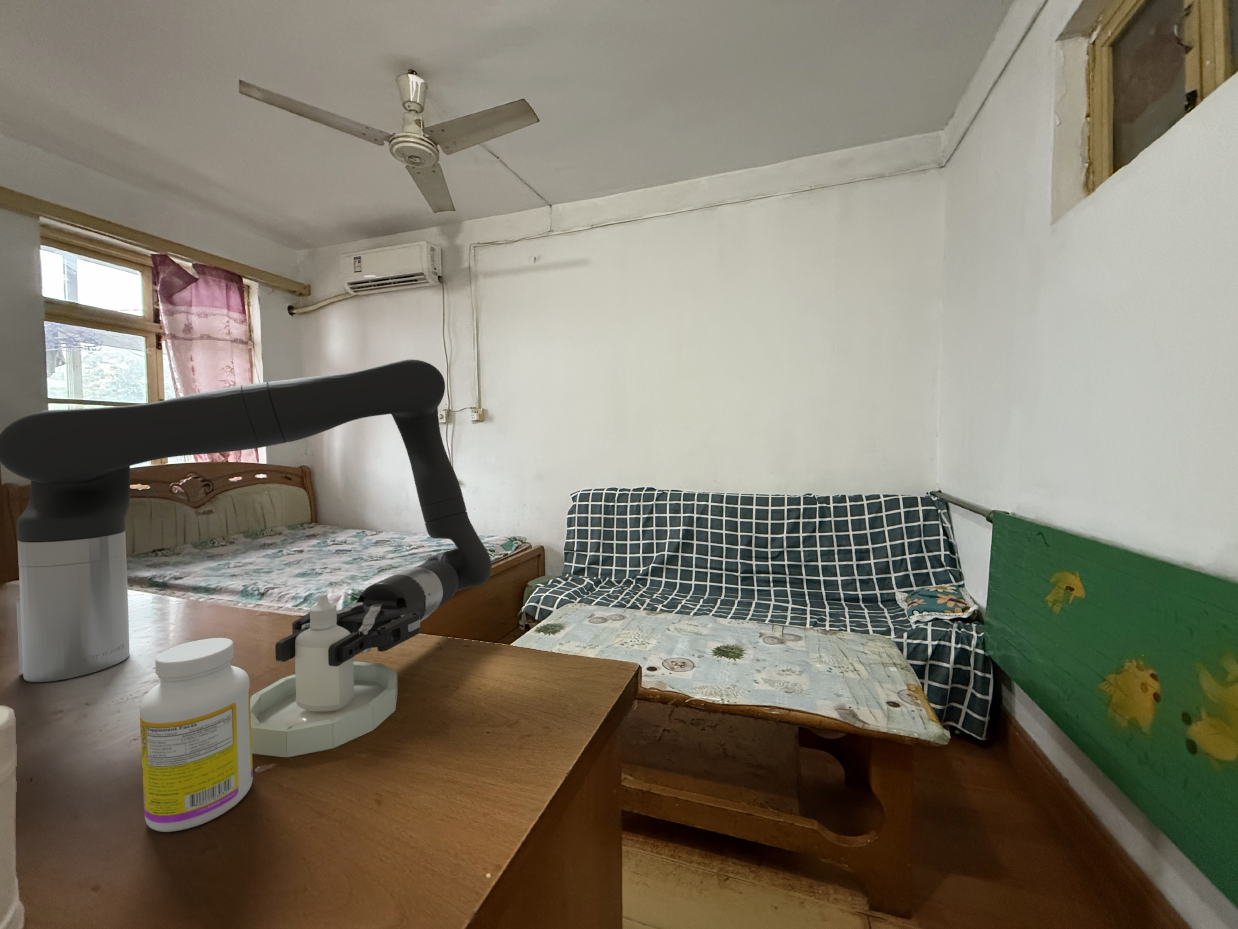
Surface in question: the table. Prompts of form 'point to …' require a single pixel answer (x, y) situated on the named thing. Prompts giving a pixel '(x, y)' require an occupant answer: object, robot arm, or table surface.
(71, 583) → the robot arm
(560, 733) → the table surface
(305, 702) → the eye dropper bottle
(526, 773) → the table surface
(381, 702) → the dish
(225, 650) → the supplement bottle
